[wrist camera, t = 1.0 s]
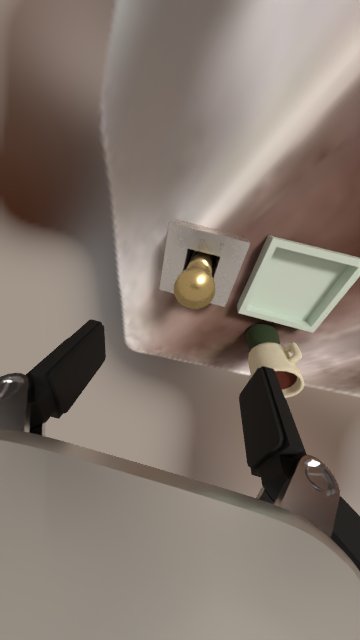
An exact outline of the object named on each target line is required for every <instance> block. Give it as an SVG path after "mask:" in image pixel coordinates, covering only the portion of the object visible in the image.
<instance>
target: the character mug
mask: <svg viewBox="0 0 360 640" xmlns="http://www.w3.org/2000/svg"><path fill="white" fill-rule="evenodd" d="M245 338H246V341H247V344H248V346H249V348H250V352H249V357H248V363H249V368H250V372H251V375H250V377H249V380H250V379H251V377H252V376H253V374H254V373H255V371H256V370H257V369H258V368H261V367H262V366H265V367H269V368H272V369H274V370H275V373H276V376H277V378H278V381H279V384H280V386H281V389H282V392H283V394H284V397H285V398H288V397H292V396H294V395H296V394H298V393H299V392H300V391H301V390H302V389H303V387H304V380H303V377H302V374H301V372H300V370H299V367H298V365H297V363H296V362H297V361H298V360H300V359H301V358H302V353H301V351H300V350H299V348H298V346H297V345H296V343H294V342H291V343H289V344H288V345H287V346H286V347H284V346H282V345H280V341H279V337H278V333H277V330H276V329H275V328H274V327H273V326H271V325H267V324H257V325H254V326H252V327H250V328H249V329H248V330H247V331H246V335H245ZM290 351H293V353H294V355H292V354H291V353H290Z"/></svg>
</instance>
